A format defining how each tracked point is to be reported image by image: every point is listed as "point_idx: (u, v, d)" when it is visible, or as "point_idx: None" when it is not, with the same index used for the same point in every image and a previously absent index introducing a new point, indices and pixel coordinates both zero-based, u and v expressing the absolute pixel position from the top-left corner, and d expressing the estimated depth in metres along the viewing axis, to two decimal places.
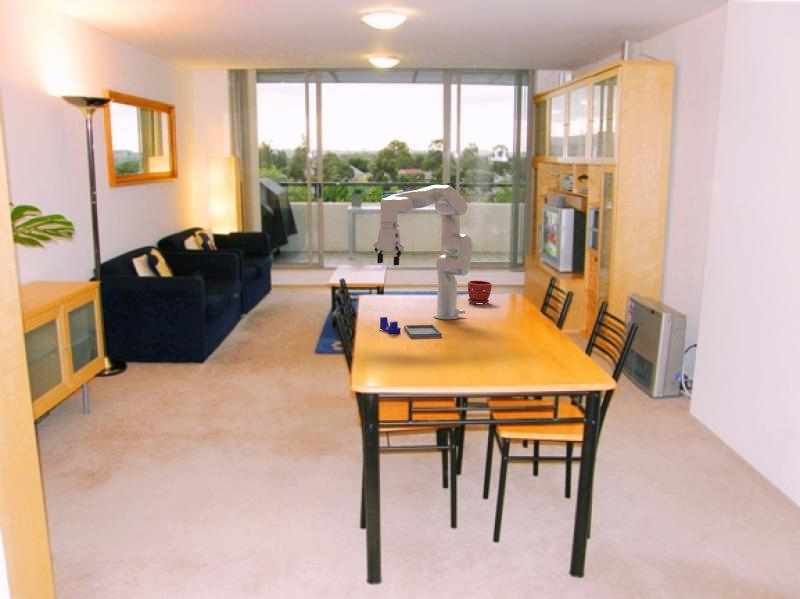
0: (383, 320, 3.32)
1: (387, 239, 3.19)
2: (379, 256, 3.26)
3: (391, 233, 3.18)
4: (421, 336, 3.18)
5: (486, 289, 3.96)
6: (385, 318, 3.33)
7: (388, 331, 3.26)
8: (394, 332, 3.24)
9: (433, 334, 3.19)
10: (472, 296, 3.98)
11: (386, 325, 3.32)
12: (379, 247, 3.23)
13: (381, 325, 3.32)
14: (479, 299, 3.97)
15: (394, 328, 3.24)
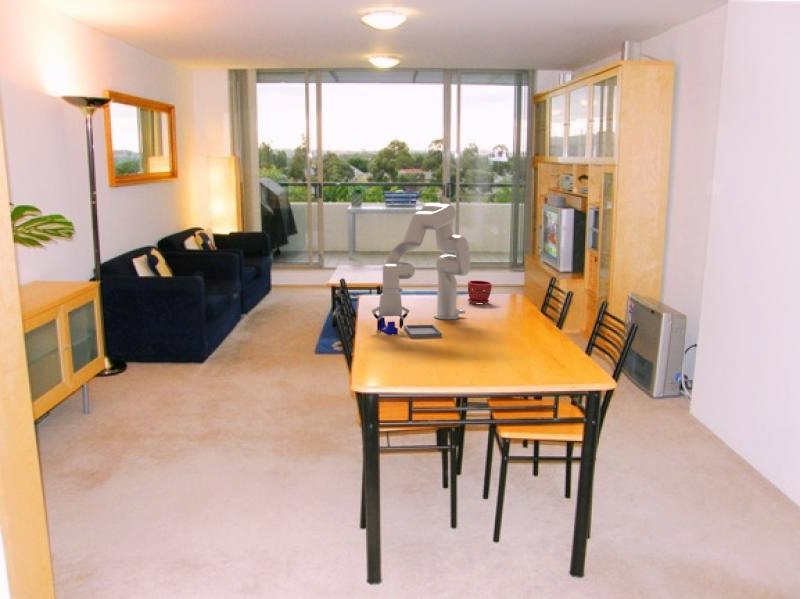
0: None
1: (394, 304, 3.25)
2: (380, 322, 3.27)
3: (399, 298, 3.26)
4: (421, 336, 3.18)
5: (486, 289, 3.96)
6: (382, 318, 3.32)
7: (385, 331, 3.26)
8: (391, 332, 3.24)
9: (433, 334, 3.19)
10: (472, 296, 3.98)
11: (383, 325, 3.31)
12: (383, 313, 3.26)
13: None
14: (479, 299, 3.97)
15: (391, 329, 3.23)
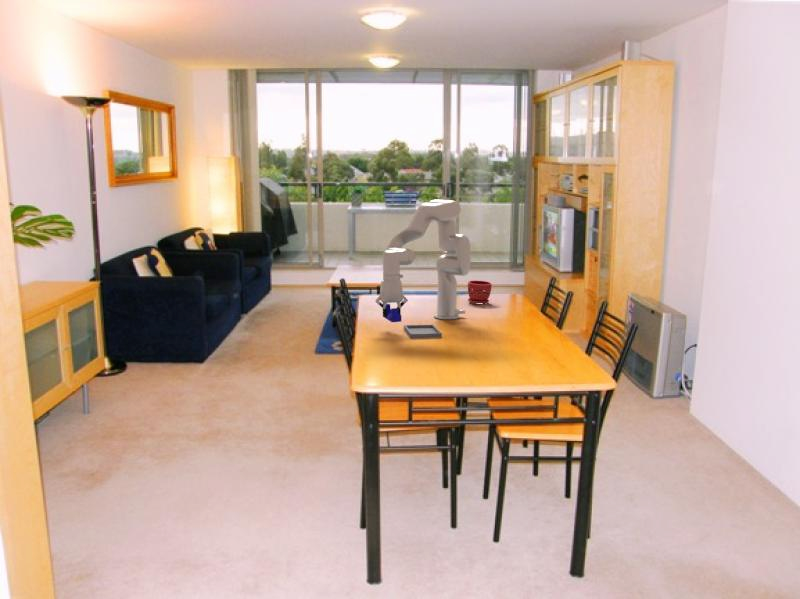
0: (386, 307, 3.32)
1: (395, 290, 3.25)
2: None
3: (399, 284, 3.25)
4: (421, 336, 3.18)
5: (486, 289, 3.96)
6: (388, 305, 3.32)
7: (389, 318, 3.26)
8: (395, 319, 3.23)
9: (433, 334, 3.19)
10: (472, 296, 3.98)
11: (388, 312, 3.31)
12: (384, 299, 3.25)
13: None
14: (479, 299, 3.97)
15: (394, 315, 3.23)
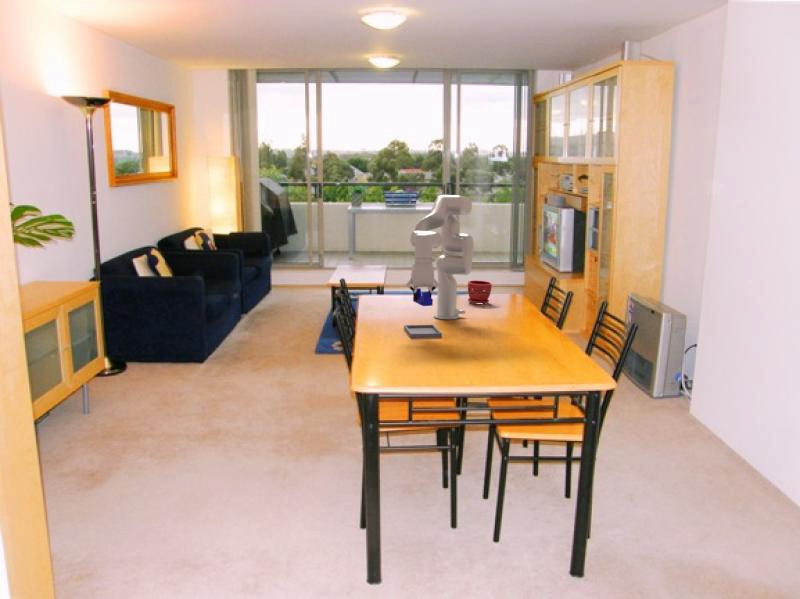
0: None
1: (427, 274, 3.20)
2: None
3: (431, 268, 3.21)
4: (421, 336, 3.18)
5: (486, 289, 3.96)
6: (418, 289, 3.28)
7: (420, 302, 3.21)
8: (426, 303, 3.19)
9: (433, 334, 3.19)
10: (472, 296, 3.98)
11: (419, 296, 3.27)
12: (415, 283, 3.21)
13: None
14: (479, 299, 3.97)
15: (425, 299, 3.18)
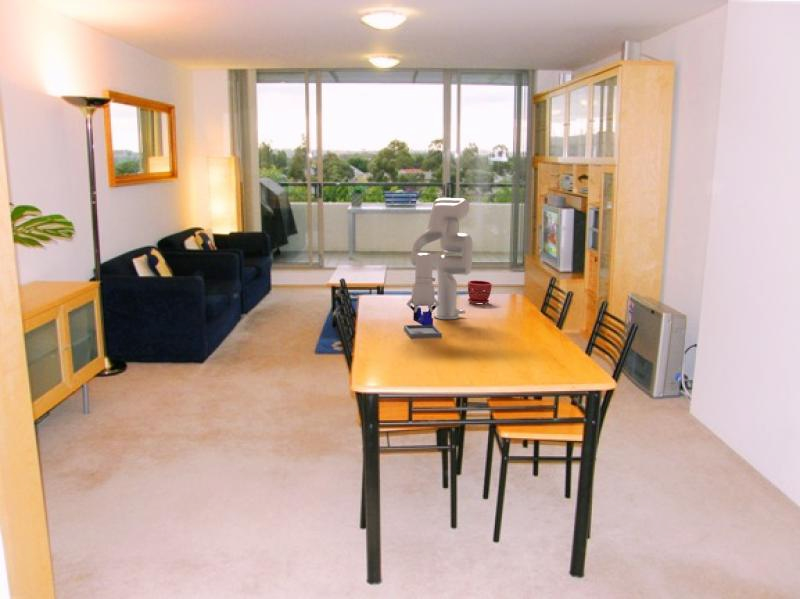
0: None
1: (427, 294, 3.22)
2: None
3: (432, 287, 3.22)
4: (421, 336, 3.18)
5: (486, 289, 3.96)
6: (419, 308, 3.29)
7: (420, 321, 3.22)
8: (426, 322, 3.20)
9: (433, 334, 3.19)
10: (472, 296, 3.98)
11: (419, 315, 3.28)
12: (416, 302, 3.22)
13: None
14: (479, 299, 3.97)
15: (426, 318, 3.20)
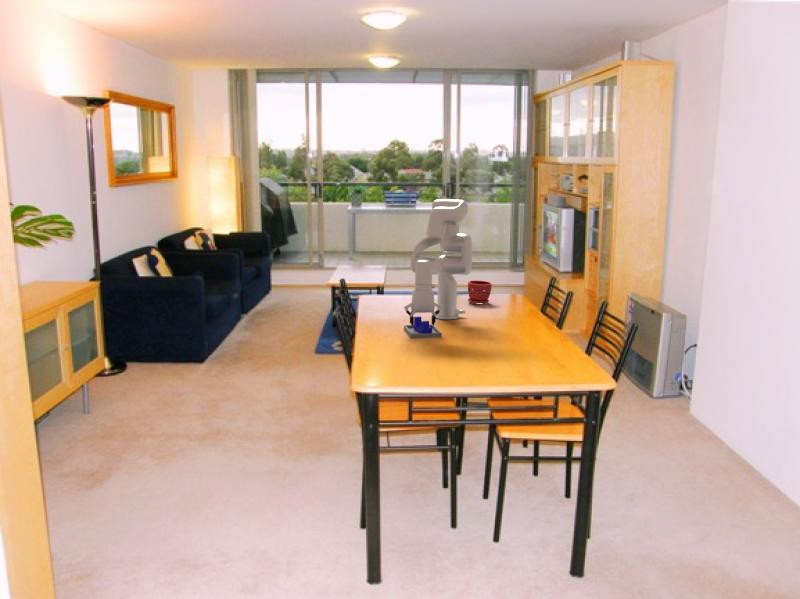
0: (417, 319, 3.30)
1: (427, 300, 3.22)
2: None
3: (431, 294, 3.23)
4: (421, 336, 3.18)
5: (486, 289, 3.96)
6: (419, 318, 3.30)
7: (420, 331, 3.23)
8: (425, 332, 3.21)
9: (433, 334, 3.19)
10: (472, 296, 3.98)
11: (419, 325, 3.29)
12: (416, 309, 3.23)
13: (415, 324, 3.30)
14: (479, 299, 3.97)
15: (425, 328, 3.21)
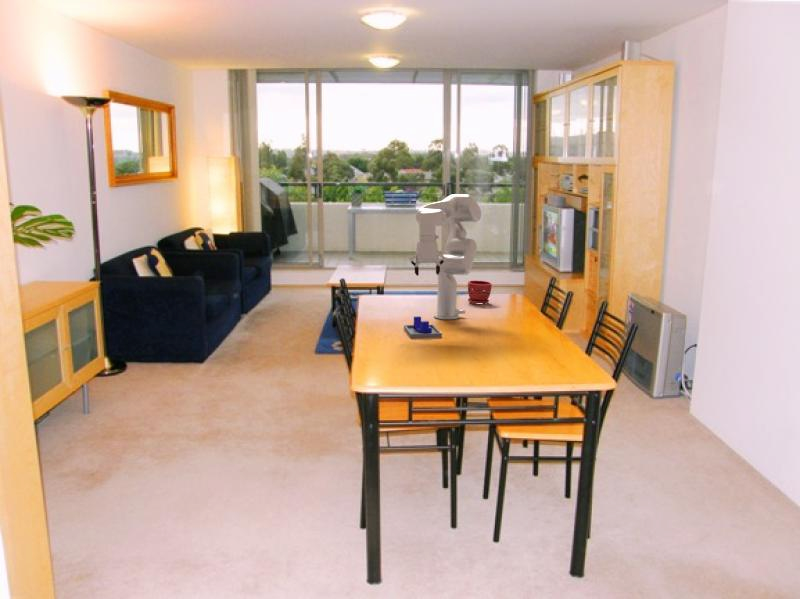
0: (416, 319, 3.30)
1: (431, 251, 3.31)
2: None
3: (435, 245, 3.31)
4: (421, 336, 3.18)
5: (486, 289, 3.96)
6: (419, 318, 3.30)
7: (420, 331, 3.23)
8: (425, 332, 3.21)
9: (433, 334, 3.19)
10: (472, 296, 3.98)
11: (419, 325, 3.29)
12: (420, 260, 3.32)
13: (414, 324, 3.30)
14: (479, 299, 3.97)
15: (424, 328, 3.21)
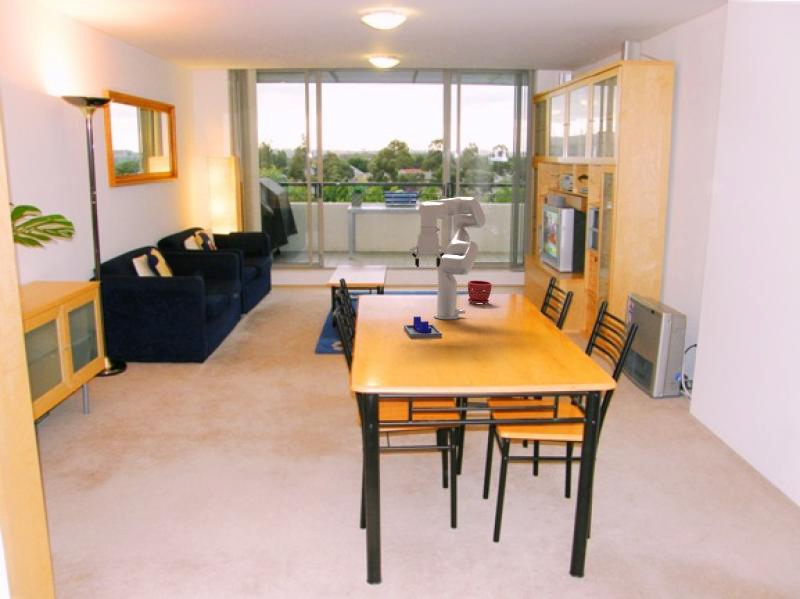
0: (416, 319, 3.30)
1: (432, 243, 3.34)
2: (418, 260, 3.36)
3: (436, 237, 3.35)
4: (421, 336, 3.18)
5: (486, 289, 3.96)
6: (418, 318, 3.30)
7: (419, 331, 3.23)
8: (425, 332, 3.21)
9: (433, 334, 3.19)
10: (472, 296, 3.98)
11: (419, 325, 3.29)
12: (421, 251, 3.35)
13: (414, 324, 3.30)
14: (479, 299, 3.97)
15: (424, 328, 3.21)
